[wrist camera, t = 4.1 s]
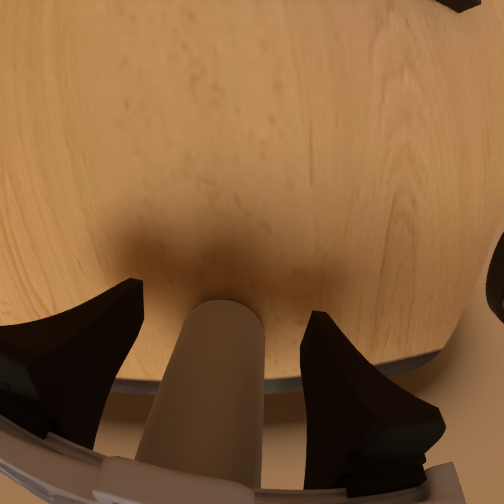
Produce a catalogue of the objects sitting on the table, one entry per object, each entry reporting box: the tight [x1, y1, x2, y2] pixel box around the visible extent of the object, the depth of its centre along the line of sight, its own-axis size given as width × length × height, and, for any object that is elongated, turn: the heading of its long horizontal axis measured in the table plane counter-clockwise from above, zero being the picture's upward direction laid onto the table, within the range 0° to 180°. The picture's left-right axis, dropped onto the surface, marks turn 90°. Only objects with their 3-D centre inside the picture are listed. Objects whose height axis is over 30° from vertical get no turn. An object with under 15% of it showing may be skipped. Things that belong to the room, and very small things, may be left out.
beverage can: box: [134, 300, 265, 488], centre depth 12 cm, size 5×5×12 cm
